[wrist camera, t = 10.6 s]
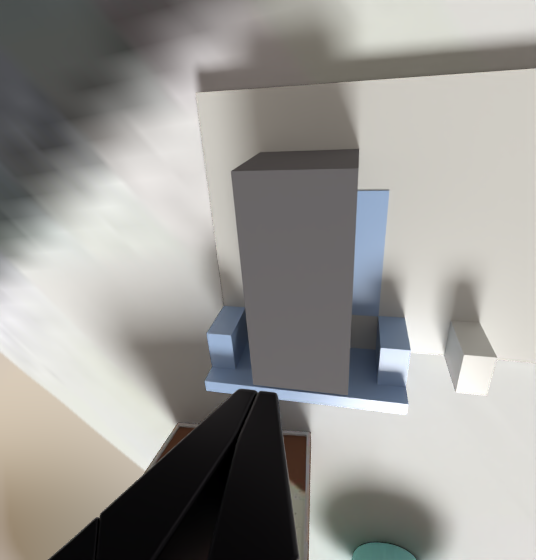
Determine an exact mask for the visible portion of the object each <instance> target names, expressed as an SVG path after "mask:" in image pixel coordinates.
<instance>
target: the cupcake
mask: <svg viewBox="0 0 536 560" xmlns="http://www.w3.org/2000/svg"><path fill="white" fill-rule="evenodd" d="M352 560H417V559H416V558H415V557H414V556H413V555H412V554H411V553H410V552H408V551H407V550H405V549H403V548H401V547H398V546H396V545H392V544H388V543H380V542H373V543H367V544H363V545H361V546H359V547H358V548H357V549H356V550H355V551H354V553H353V556H352Z"/></svg>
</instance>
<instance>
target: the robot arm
mask: <svg viewBox="0 0 536 560" xmlns="http://www.w3.org/2000/svg"><path fill="white" fill-rule="evenodd" d="M48 560H300V556H299V548H298V541H297V534H296V526H295V519H294V512H293V504H292V497H291V490H290V482H289V475H288V468H287V460H286V453H285V446H284V438H283V431H282V424H281V416H280V409H279V402H278V395H277V393H275V392H267V391H259V392H257V391H256V390H250V389H238V390H236V391H235V392H234V393H233V394H232V395H231V396H230V397H229V398H228V399H226V400H225V401H224V402H223V403H222V404H221V405H220V406H219V407H218V408H216V409H215V410H214V411H213V412H212V413H211V414H210V415H209V416H208V417H207V418H205V419H204V420H203V421H202V422H201V423H200V424H199V425H198V426H197V427H195V428H194V429H193V430H192V431H191V432H190V433H189V434H188V435H187V436H186V437H184V438H183V439H182V440H181V441H180V442H179V443H178V444H177V445H176V446H174V447H173V448H172V449H171V450H170V451H169V452H168V453H167V454H166V455H165V456H163V457H162V458H161V459H160V460H159V461H158V462H157V463H156V464H155V465H153V466H152V467H151V468H150V469H149V470H148V471H147V472H146V473H145V474H144V475H143V476H142V477H140V478H139V479H138V480H137V481H136V482H135V483H134V484H133V485H132V486H130V487H129V488H128V489H127V490H126V491H125V492H124V493H123V494H121V495H120V496H119V497H118V498H117V499H116V500H115V501H114V502H113V503H111V504H110V505H109V506H108V507H107V508H106V509H105V510H104V511H103V512H102V513H101V514H100V518H99V517H96V518H95V519H94V520H92V521H91V523H89V524H88V525H87V526H86V527H85V528H84V529H83V530H81V532H79V533H78V534H77V535H76V536H75V537H74V538H72V539H71V540H70V541H69V542H68V543H67V544H66V545H64V546H63V547H62V548H61V549H60V550H59V551H57V552H56V553H55V554H54V555H53V556H52V557H51V558H49V559H48Z"/></svg>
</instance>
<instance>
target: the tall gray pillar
mask: <svg viewBox="0 0 536 560" xmlns="http://www.w3.org/2000/svg"><path fill="white" fill-rule="evenodd" d="M358 170H359V149H340V150H310V151H280V152H260V153H258V154H257V155H255V156H254V157H252V158H250V159H249V160H247V161H246V162H244V163H243V164H241V165H240V166H238V167H237V168H235V169H233V170H232V171H231V178H232V188H233V197H234V207H235V216H236V226H237V235H238V245H239V254H240V264H241V273H242V283H243V292H244V302H245V311H246V321H247V330H248V340H249V349H250V359H251V368H252V378H253V385H260V386H269V387H278V388H287V389H296V390H305V391H314V392H323V393H332V394H341V395H348V385H349V363H350V342H351V320H352V299H353V278H354V256H355V235H356V213H357V192H358Z"/></svg>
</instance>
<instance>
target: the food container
mask: <svg viewBox="0 0 536 560" xmlns="http://www.w3.org/2000/svg"><path fill="white" fill-rule="evenodd" d="M198 425H199V424H190V423H177V425H176V426H175V428H174V429H173V431H172V432H171V434H170V435H169V437H168V438H167V440H166V441H165V443H164V444H163V446H162V447H161V449H160V450H159V452H158V453H157V455H156V456H155V458H154V459H153V461H152V462H151V464H150V465H149V467H148V468H147V470H146V471H145V472H144V474H145V473H146V472H147V471H148V470H149V469H150V468H151V467H152V466H153V465H155V464H156V463H157V462H158V461H159V460H160V459H161V458H162V457H163V456H165V455H166V454H167V453H168V452H169V451H170V450H171V449H172V448H173V447H174V446H176V445H177V444H178V443H179V442H180V441H181V440H182V439H183V438H184V437H186V436H187V435H188V434H189V433H190V432H191V431H192V430H193V429H194V428H195V427H197V426H198ZM282 431H283V438H284V446H285V453H286V460H287V468H288V475H289V482H290V490H291V497H292V504H293V512H294V519H295V526H296V534H297V541H298V548H299V556H300V560H309V513H310V464H311V432H301V431H287V430H282ZM144 474H143V475H144Z"/></svg>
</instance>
